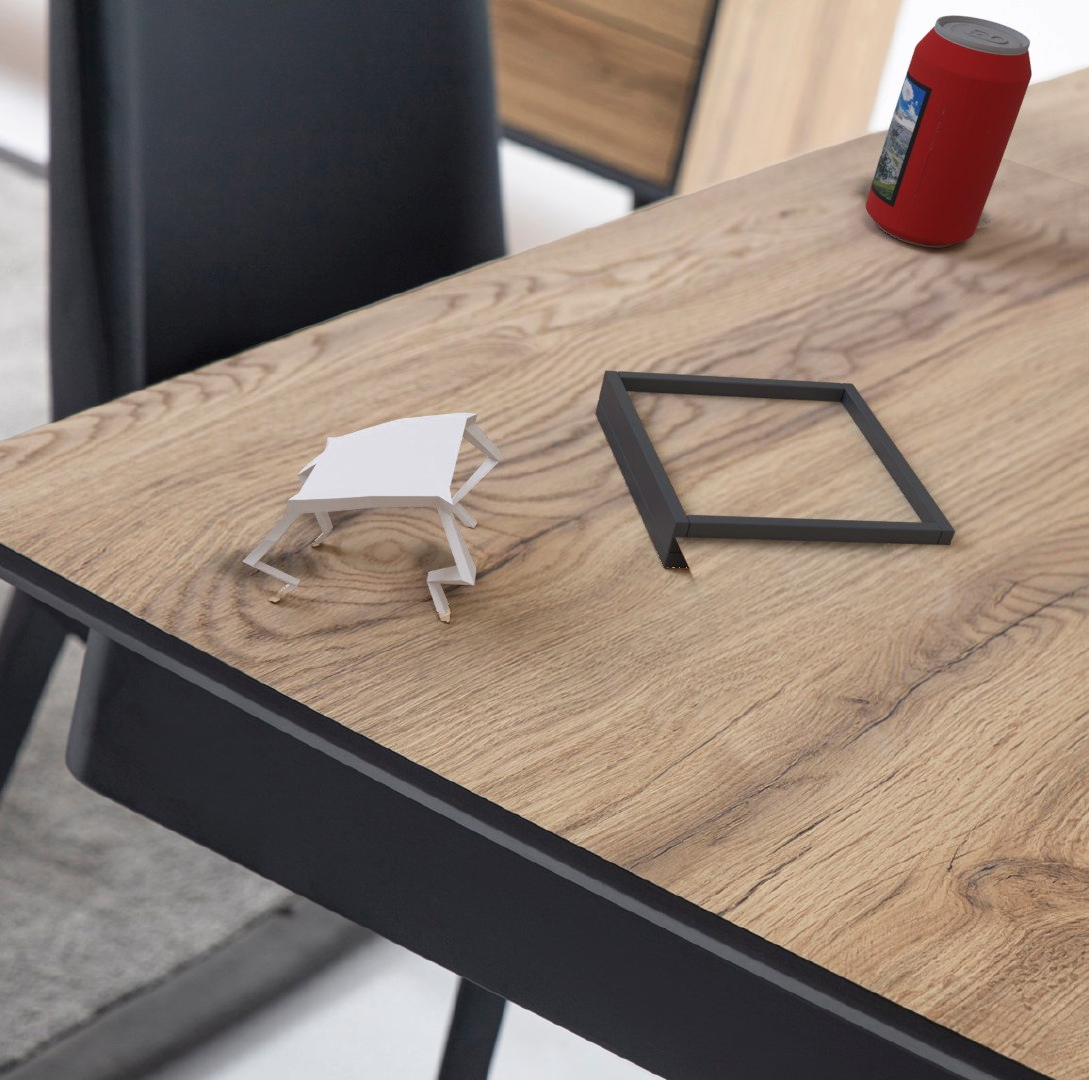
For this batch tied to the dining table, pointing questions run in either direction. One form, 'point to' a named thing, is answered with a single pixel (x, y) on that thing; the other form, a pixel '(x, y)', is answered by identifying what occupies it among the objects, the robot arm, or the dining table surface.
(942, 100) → the beverage can
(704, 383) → the open square outline
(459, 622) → the dining table surface
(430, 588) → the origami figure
